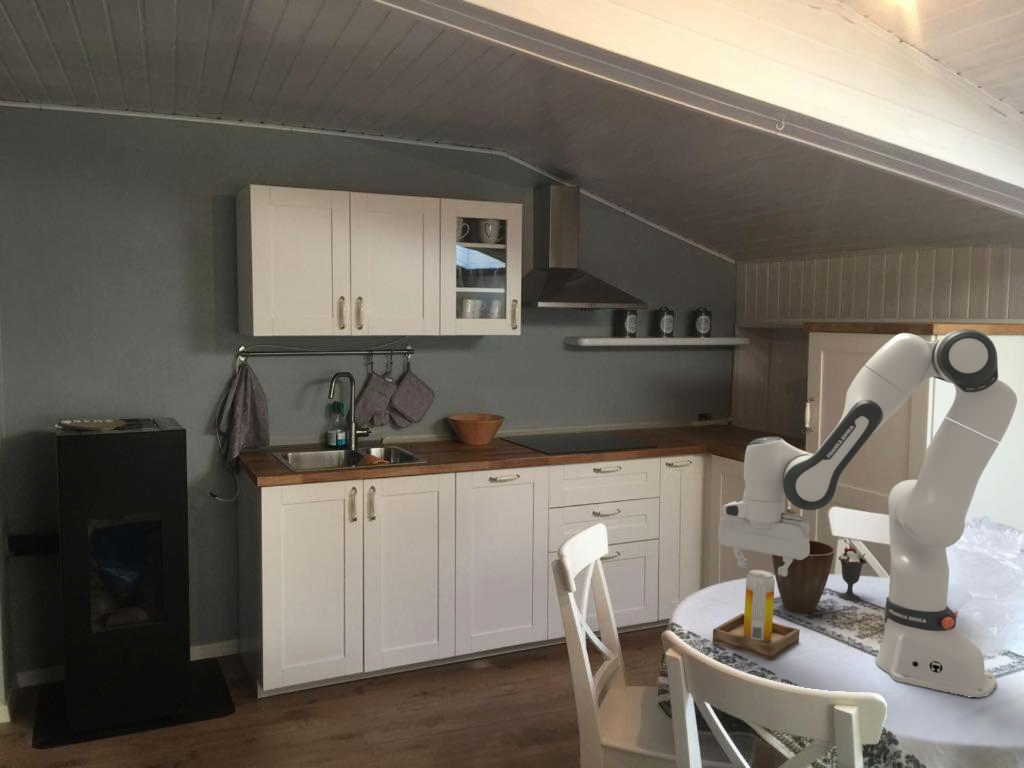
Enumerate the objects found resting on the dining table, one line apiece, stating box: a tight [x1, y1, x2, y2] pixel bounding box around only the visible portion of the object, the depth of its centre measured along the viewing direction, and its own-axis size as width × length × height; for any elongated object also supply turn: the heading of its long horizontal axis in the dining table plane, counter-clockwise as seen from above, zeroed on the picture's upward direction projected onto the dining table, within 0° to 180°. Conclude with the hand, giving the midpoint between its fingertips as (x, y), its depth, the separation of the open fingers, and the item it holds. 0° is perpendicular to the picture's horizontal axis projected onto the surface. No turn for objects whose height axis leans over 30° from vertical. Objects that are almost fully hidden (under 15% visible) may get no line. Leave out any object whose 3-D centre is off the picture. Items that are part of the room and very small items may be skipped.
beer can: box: [743, 569, 776, 643], centre depth 192 cm, size 6×6×15 cm
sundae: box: [837, 539, 867, 601], centre depth 225 cm, size 7×7×15 cm
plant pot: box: [771, 539, 835, 615], centre depth 215 cm, size 15×15×16 cm
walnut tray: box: [712, 613, 801, 662], centre depth 193 cm, size 14×14×3 cm
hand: (762, 571), depth 192 cm, fingers open, 8 cm apart
